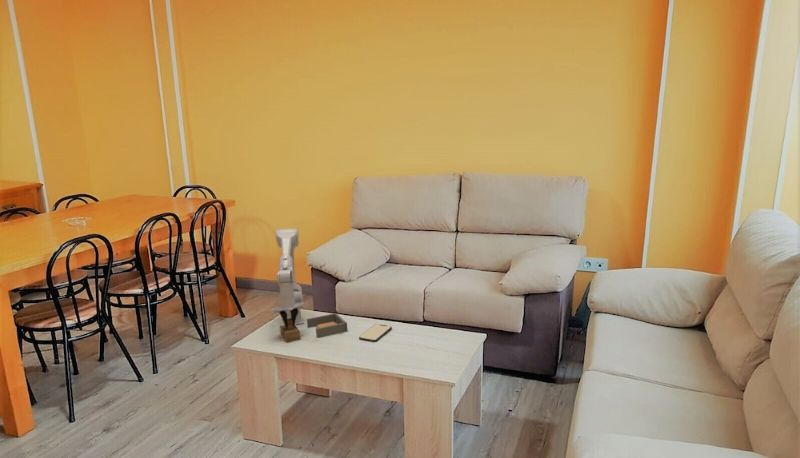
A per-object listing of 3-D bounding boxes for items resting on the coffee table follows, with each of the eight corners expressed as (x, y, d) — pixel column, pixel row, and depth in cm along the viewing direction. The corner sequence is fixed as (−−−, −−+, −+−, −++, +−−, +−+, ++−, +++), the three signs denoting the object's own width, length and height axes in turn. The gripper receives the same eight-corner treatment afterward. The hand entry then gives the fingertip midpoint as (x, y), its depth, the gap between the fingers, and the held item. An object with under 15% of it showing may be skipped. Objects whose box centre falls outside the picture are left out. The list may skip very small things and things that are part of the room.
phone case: (375, 344, 249) (393, 329, 263) (375, 340, 249) (392, 326, 263) (357, 340, 253) (375, 326, 267) (357, 337, 253) (375, 323, 267)
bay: (307, 327, 268) (306, 318, 267) (336, 321, 274) (336, 313, 273) (317, 337, 256) (316, 329, 255) (347, 331, 262) (346, 322, 261)
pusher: (280, 334, 261) (279, 317, 259) (293, 331, 264) (292, 314, 262) (287, 342, 252) (285, 324, 251) (300, 339, 255) (299, 322, 253)
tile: (317, 329, 267) (316, 325, 267) (333, 325, 270) (333, 321, 270) (322, 335, 260) (322, 331, 260) (339, 331, 263) (339, 327, 263)
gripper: (273, 302, 247) (275, 332, 250) (306, 296, 253) (308, 325, 256) (268, 297, 253) (271, 327, 256) (301, 291, 260) (303, 320, 263)
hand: (289, 326), depth 257 cm, fingers closed on pusher, 2 cm apart
